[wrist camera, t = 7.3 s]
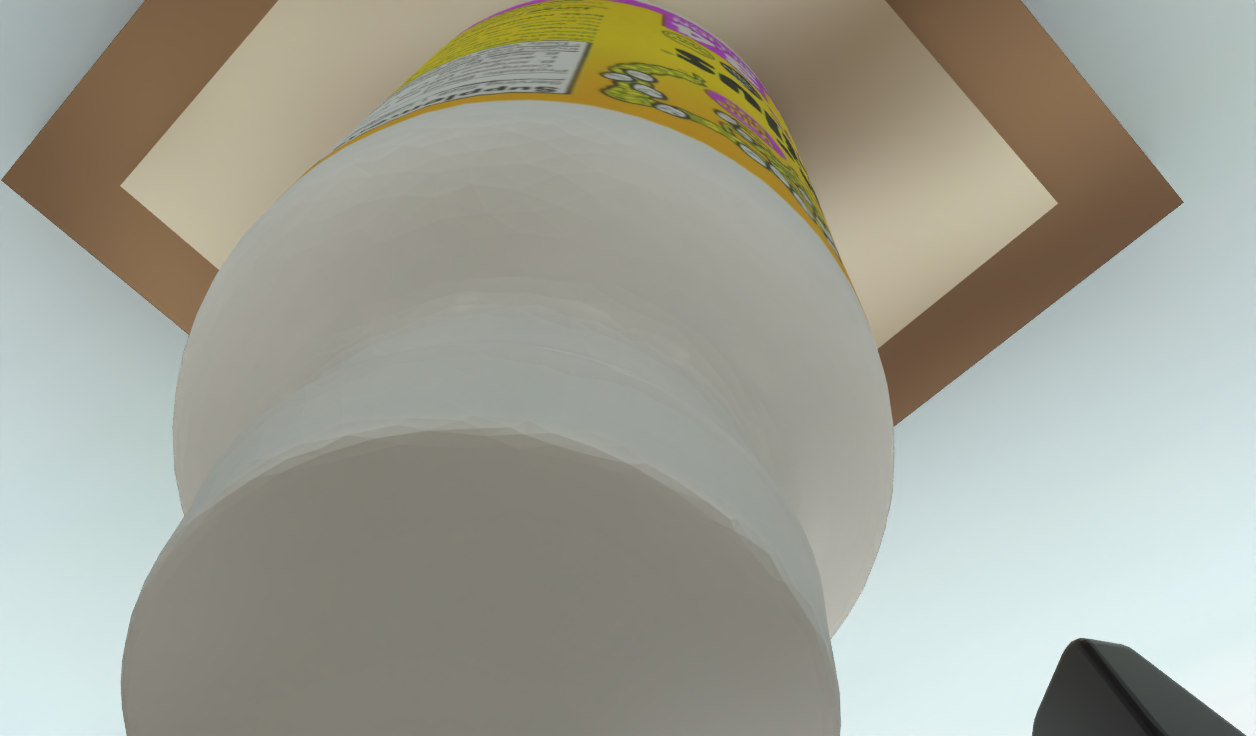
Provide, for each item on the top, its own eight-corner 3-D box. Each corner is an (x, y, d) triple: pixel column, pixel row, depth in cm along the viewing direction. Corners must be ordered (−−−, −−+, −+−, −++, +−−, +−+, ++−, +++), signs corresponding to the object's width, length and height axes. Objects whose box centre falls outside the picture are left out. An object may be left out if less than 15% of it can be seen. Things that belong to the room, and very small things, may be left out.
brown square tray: (1146, 176, 20) (1188, 205, 19) (592, 614, 25) (587, 669, 23) (589, -511, 16) (580, -549, 15) (46, 156, 21) (-5, 183, 19)
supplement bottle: (839, 312, 20) (1087, 998, 8) (482, 417, 21) (251, 1157, 9) (728, -82, 17) (860, 100, 6) (327, 60, 18) (-271, 463, 7)
